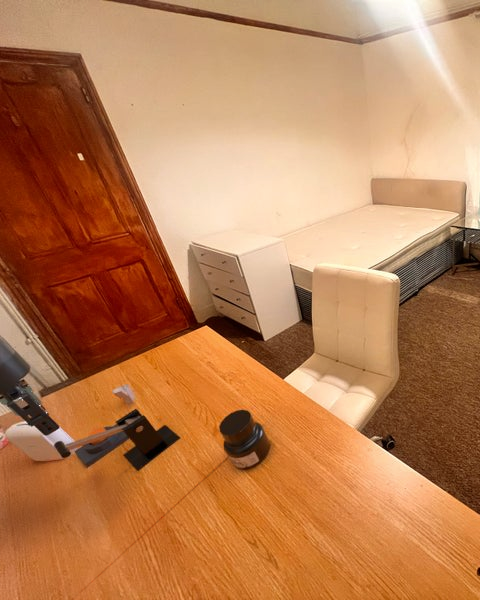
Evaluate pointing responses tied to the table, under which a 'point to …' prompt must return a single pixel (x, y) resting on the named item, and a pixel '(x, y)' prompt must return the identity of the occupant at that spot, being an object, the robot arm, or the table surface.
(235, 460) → the ink bottle
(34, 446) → the photo printer
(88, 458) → the button box
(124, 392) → the pale grey angular bracket
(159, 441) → the bracket
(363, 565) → the table surface
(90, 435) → the button
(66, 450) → the switch lever
